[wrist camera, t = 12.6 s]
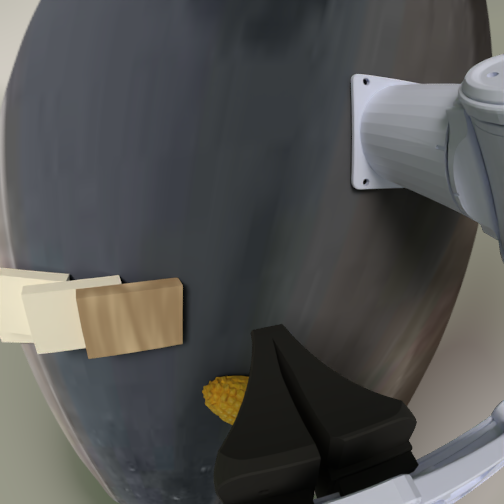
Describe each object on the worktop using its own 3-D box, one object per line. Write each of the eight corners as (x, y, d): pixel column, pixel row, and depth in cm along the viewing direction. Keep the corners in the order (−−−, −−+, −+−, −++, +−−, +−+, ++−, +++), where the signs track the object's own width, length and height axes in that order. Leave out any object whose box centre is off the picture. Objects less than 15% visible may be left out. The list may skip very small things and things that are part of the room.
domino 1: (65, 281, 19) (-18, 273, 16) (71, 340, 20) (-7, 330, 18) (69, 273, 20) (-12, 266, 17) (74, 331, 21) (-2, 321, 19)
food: (381, 388, 32) (404, 424, 27) (353, 418, 34) (371, 454, 28) (212, 351, 25) (219, 407, 20) (188, 392, 27) (191, 445, 21)
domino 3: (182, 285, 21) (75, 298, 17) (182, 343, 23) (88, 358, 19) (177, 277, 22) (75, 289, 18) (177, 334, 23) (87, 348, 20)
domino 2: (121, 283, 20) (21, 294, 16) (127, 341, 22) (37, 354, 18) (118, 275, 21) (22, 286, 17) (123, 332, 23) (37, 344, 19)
